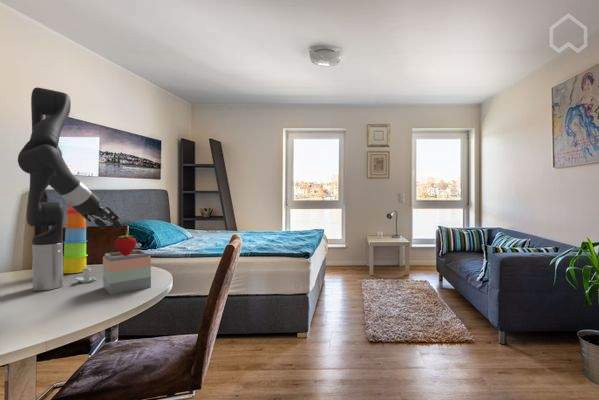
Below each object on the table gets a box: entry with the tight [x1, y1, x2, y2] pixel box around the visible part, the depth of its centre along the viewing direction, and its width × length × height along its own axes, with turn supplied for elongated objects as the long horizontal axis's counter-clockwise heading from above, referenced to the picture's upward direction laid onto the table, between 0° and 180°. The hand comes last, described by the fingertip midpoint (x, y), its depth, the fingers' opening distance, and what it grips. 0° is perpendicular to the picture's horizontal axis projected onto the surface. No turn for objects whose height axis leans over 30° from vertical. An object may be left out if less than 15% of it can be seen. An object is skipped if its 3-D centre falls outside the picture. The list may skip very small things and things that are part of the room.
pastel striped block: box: [102, 249, 152, 295], centre depth 122 cm, size 14×12×13 cm
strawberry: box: [114, 231, 137, 256], centre depth 122 cm, size 6×8×10 cm
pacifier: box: [75, 267, 98, 284], centre depth 131 cm, size 7×6×6 cm
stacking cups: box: [63, 203, 89, 274], centre depth 147 cm, size 10×10×35 cm
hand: (112, 227), depth 117 cm, fingers open, 8 cm apart
